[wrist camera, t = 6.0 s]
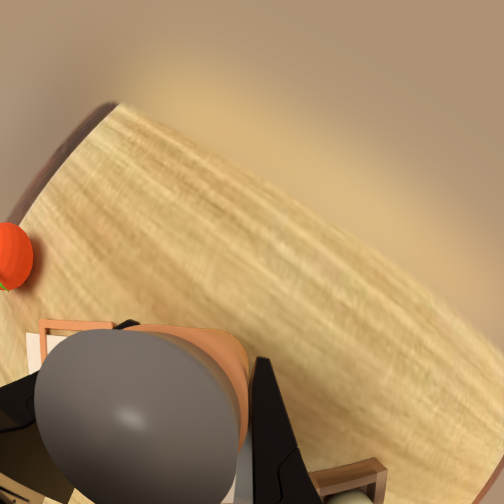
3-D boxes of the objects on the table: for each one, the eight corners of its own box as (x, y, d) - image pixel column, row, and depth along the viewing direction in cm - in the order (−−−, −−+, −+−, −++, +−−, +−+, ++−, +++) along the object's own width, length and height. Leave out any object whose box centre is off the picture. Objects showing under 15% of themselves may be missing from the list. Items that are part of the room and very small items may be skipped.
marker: (255, 389, 14) (273, 523, 3) (187, 401, 14) (73, 515, 2) (239, 322, 15) (210, 296, 4) (171, 336, 15) (12, 331, 4)
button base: (369, 506, 16) (380, 520, 14) (302, 523, 16) (307, 539, 13) (374, 457, 18) (387, 469, 15) (301, 474, 18) (307, 490, 15)
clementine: (56, 279, 23) (9, 262, 16) (20, 315, 21) (-26, 307, 15) (36, 222, 24) (-3, 197, 17) (3, 258, 23) (-36, 241, 16)
